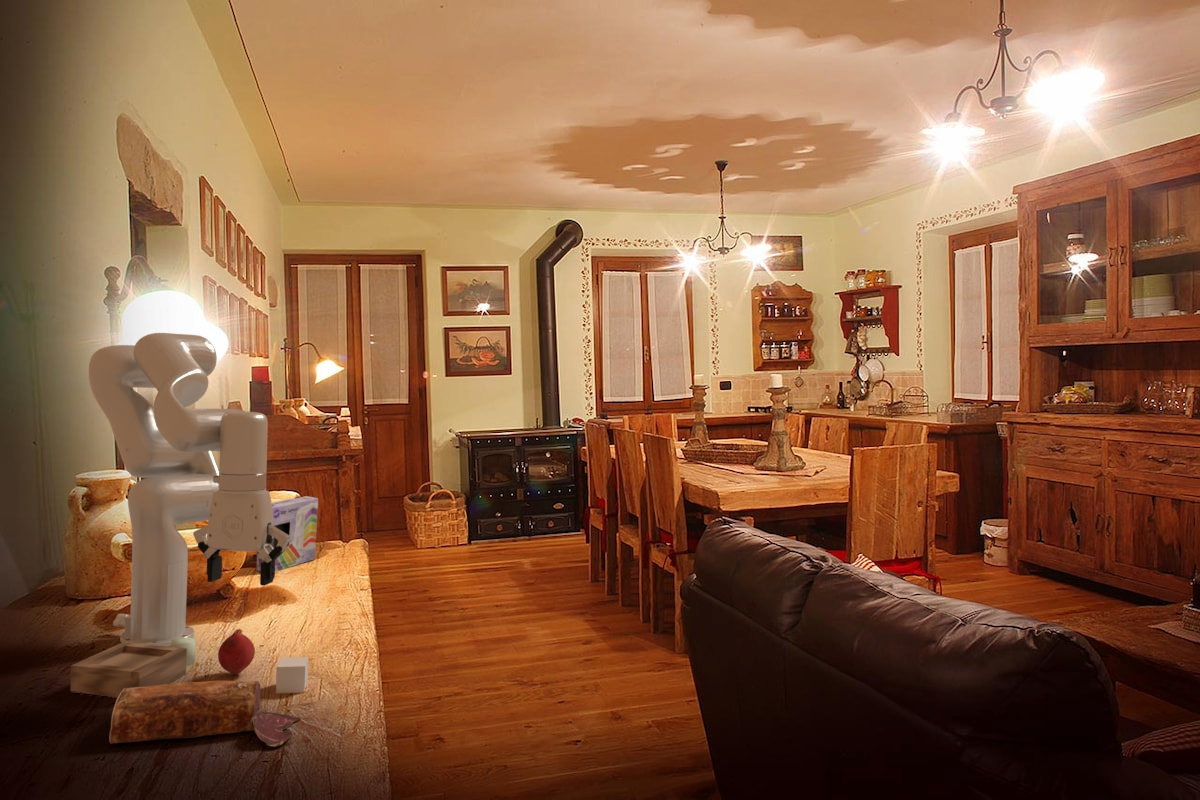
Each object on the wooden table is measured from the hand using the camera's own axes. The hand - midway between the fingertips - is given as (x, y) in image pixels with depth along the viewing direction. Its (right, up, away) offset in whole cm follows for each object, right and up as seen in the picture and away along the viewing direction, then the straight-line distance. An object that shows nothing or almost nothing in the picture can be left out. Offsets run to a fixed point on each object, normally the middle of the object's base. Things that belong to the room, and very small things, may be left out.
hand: (240, 581), depth 145 cm
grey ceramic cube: (+10, -17, -4) cm, 20 cm away
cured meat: (+5, -18, -21) cm, 28 cm away
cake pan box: (-22, -13, +79) cm, 83 cm away
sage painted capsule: (-13, -16, +5) cm, 21 cm away
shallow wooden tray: (-16, -16, -5) cm, 23 cm away
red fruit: (-1, -17, +1) cm, 17 cm away
